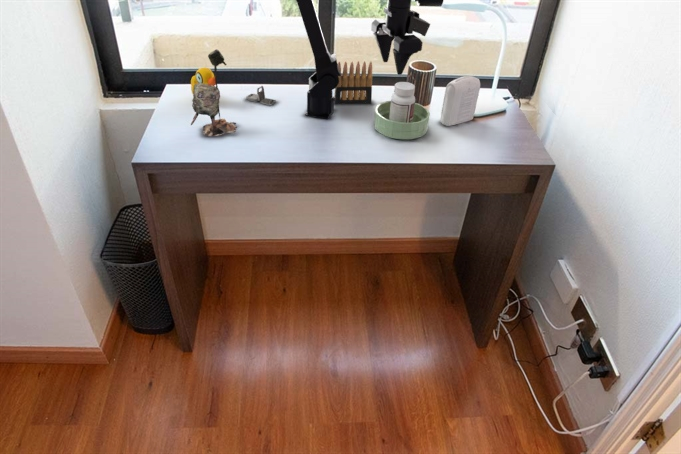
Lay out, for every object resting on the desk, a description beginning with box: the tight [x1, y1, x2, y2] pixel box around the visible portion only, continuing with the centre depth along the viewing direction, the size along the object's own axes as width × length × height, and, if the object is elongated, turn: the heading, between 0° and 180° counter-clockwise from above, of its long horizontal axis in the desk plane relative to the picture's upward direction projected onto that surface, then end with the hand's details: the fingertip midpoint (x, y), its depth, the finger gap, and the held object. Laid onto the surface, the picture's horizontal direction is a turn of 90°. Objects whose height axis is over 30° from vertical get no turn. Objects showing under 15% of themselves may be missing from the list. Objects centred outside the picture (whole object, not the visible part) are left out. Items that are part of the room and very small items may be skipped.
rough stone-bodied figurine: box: [190, 49, 238, 137], centre depth 123 cm, size 8×11×20 cm
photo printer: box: [439, 75, 481, 127], centre depth 136 cm, size 10×4×12 cm, turn 123°
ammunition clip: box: [333, 60, 373, 105], centre depth 143 cm, size 11×2×12 cm, turn 97°
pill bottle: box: [389, 81, 416, 123], centre depth 130 cm, size 6×6×11 cm
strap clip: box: [246, 85, 277, 106], centre depth 143 cm, size 8×3×4 cm, turn 65°
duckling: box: [190, 67, 216, 95], centre depth 139 cm, size 11×5×10 cm, turn 44°
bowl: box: [373, 100, 431, 140], centre depth 133 cm, size 14×14×5 cm
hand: (392, 68), depth 133 cm, fingers open, 9 cm apart
